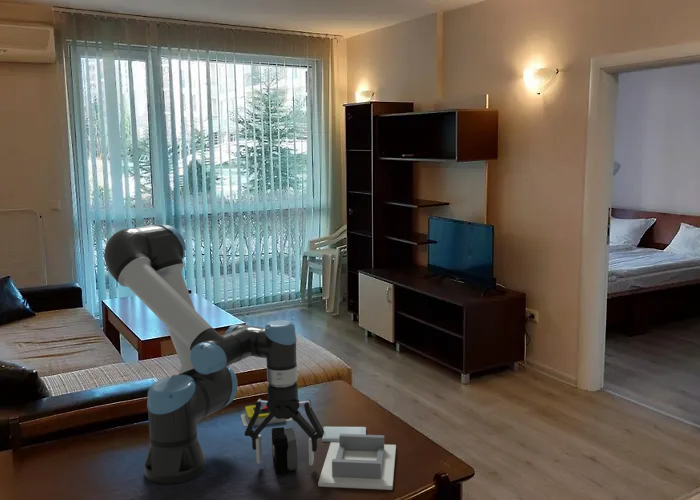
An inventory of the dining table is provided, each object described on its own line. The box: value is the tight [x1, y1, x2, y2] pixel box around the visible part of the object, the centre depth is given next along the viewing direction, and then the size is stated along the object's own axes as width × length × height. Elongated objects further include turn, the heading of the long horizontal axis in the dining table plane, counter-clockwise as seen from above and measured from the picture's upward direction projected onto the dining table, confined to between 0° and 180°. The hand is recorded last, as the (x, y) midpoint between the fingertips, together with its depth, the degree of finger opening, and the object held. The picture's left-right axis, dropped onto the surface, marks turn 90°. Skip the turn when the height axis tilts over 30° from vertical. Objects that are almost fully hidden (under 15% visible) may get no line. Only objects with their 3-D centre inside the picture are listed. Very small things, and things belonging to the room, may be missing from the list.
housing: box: [317, 434, 397, 491], centre depth 163 cm, size 18×22×5 cm
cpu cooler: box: [271, 426, 299, 476], centre depth 162 cm, size 10×6×10 cm, turn 13°
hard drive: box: [321, 426, 367, 443], centre depth 182 cm, size 2×8×12 cm
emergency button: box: [240, 404, 294, 427], centre depth 195 cm, size 9×4×15 cm
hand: (285, 462), depth 162 cm, fingers open, 13 cm apart
